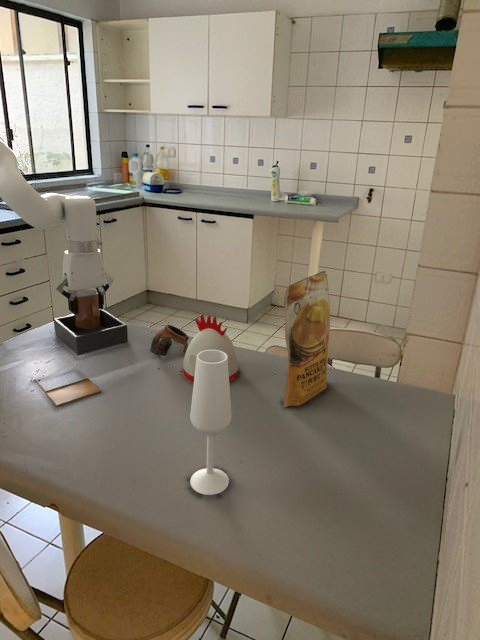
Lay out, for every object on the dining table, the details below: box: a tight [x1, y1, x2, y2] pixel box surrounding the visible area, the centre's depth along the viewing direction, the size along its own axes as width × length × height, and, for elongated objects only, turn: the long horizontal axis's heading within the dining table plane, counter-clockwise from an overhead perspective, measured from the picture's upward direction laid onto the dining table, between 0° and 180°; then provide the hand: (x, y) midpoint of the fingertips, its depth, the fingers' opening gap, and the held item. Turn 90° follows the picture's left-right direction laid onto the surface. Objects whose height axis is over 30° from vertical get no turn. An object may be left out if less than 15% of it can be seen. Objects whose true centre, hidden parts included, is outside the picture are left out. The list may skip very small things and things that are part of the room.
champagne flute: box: [189, 350, 233, 496], centre depth 75 cm, size 7×7×24 cm
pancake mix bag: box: [282, 270, 331, 408], centre depth 103 cm, size 7×19×28 cm, turn 137°
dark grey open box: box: [53, 308, 129, 356], centre depth 129 cm, size 15×14×6 cm
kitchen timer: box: [182, 314, 240, 383], centre depth 113 cm, size 14×14×15 cm
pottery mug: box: [149, 324, 190, 357], centre depth 123 cm, size 12×10×8 cm
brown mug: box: [75, 289, 100, 329], centre depth 125 cm, size 9×7×9 cm
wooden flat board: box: [33, 378, 102, 408], centre depth 107 cm, size 14×10×1 cm
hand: (86, 309), depth 126 cm, fingers closed on brown mug, 6 cm apart
